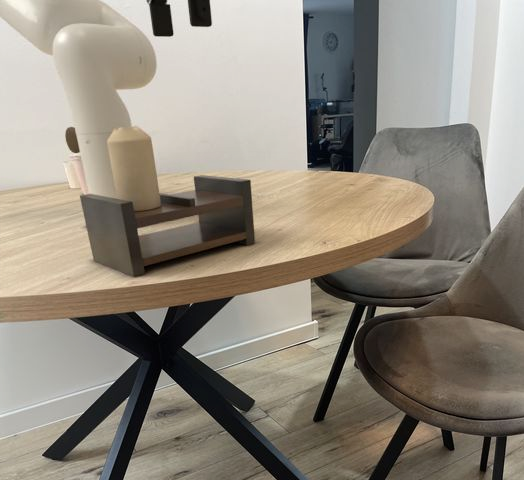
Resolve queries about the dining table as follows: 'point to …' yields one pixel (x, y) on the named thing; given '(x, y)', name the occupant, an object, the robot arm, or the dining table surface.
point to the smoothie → (79, 171)
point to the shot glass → (71, 175)
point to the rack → (172, 208)
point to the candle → (134, 167)
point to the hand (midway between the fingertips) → (181, 31)
